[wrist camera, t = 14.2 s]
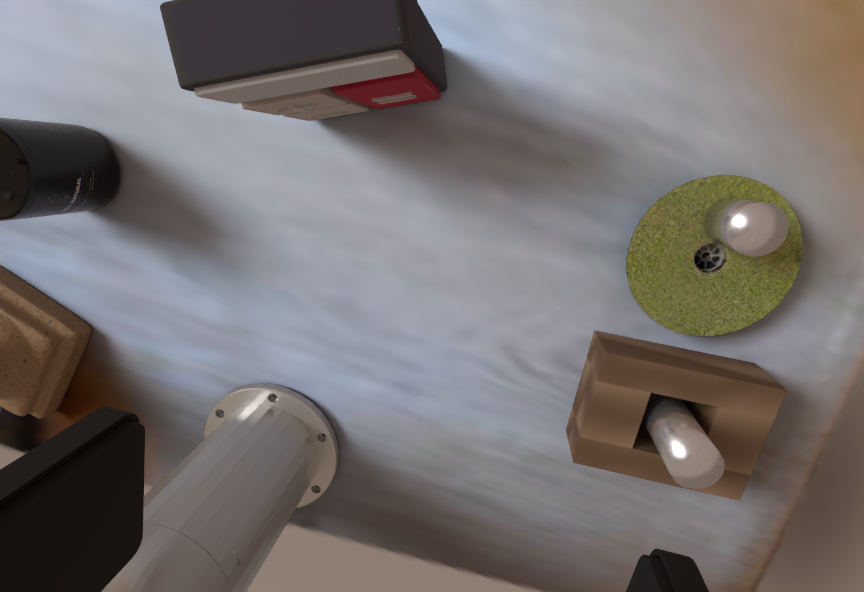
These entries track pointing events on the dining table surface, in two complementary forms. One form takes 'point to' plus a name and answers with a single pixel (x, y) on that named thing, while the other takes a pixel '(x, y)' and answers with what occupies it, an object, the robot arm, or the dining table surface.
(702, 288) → the mat
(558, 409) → the dining table surface
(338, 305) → the dining table surface
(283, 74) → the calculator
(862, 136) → the dining table surface
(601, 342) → the hole block
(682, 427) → the long pin
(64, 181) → the supplement bottle
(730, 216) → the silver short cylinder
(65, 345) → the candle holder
